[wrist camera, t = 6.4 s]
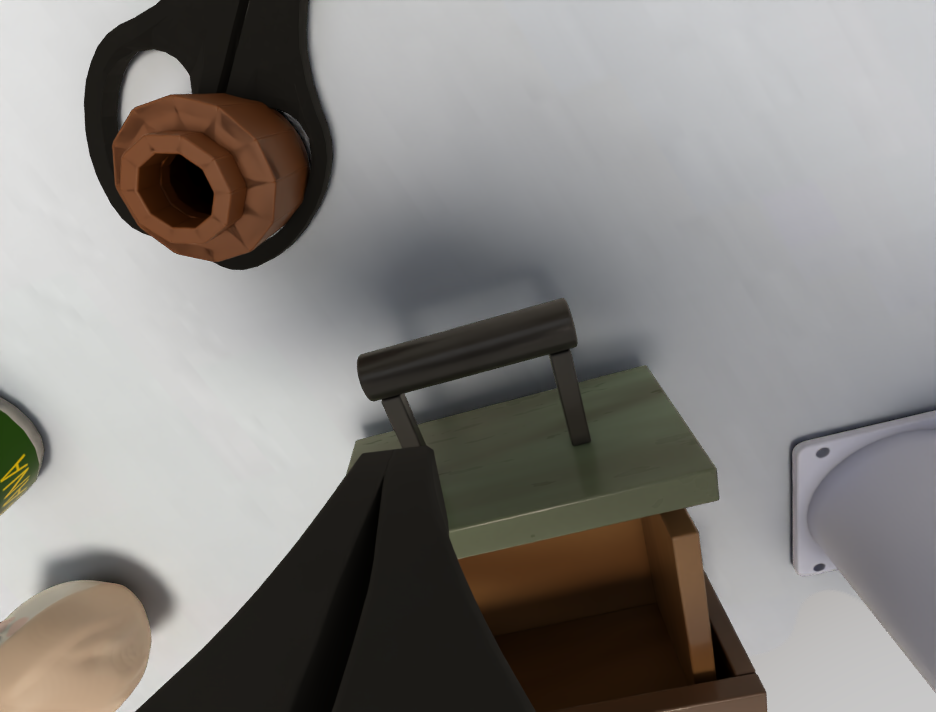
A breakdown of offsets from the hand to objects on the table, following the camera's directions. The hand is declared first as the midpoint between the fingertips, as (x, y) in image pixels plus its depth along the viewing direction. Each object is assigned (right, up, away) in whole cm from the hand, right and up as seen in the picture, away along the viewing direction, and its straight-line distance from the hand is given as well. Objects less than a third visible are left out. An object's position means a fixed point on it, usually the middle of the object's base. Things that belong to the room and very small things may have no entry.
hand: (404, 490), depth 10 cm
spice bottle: (-5, +8, +6) cm, 12 cm away
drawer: (+3, -2, +11) cm, 12 cm away
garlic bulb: (-16, -9, +15) cm, 24 cm away
